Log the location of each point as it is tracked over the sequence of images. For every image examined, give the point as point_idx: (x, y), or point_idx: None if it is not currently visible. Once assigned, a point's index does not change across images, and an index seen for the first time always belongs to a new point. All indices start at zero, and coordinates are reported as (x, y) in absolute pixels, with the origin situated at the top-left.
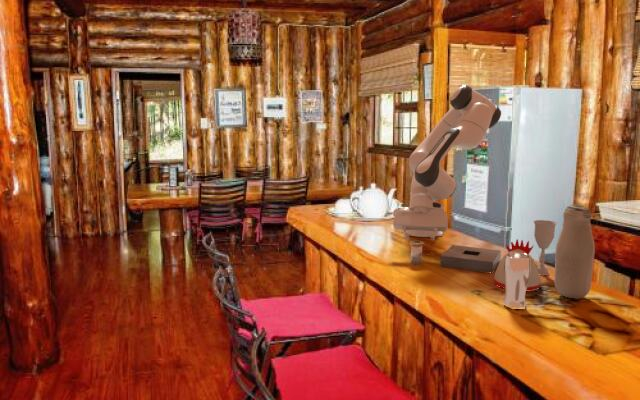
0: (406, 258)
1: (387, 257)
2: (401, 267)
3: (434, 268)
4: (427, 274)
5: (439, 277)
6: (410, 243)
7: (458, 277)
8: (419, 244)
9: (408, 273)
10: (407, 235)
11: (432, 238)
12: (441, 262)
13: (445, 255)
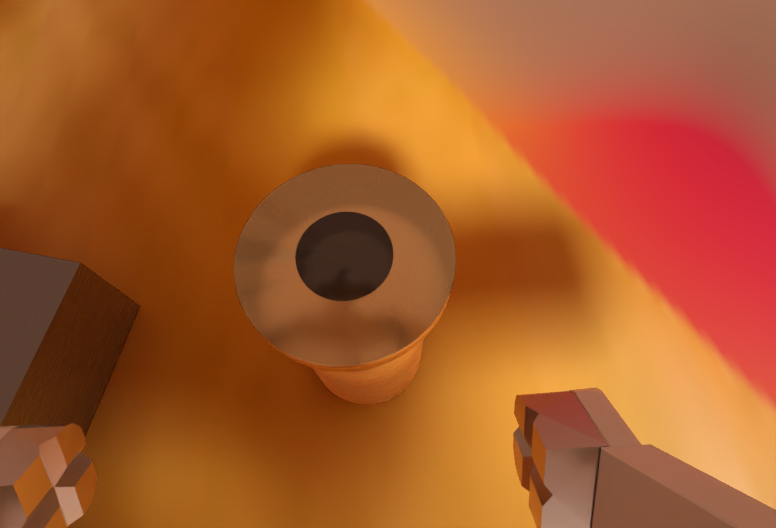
0: (493, 524)
1: None
2: (475, 190)
3: (200, 238)
4: (264, 88)
5: (186, 54)
6: (434, 208)
7: (54, 85)
8: (301, 183)
9: (397, 74)
10: (552, 408)
11: (39, 429)
12: (111, 290)
13: (23, 284)
